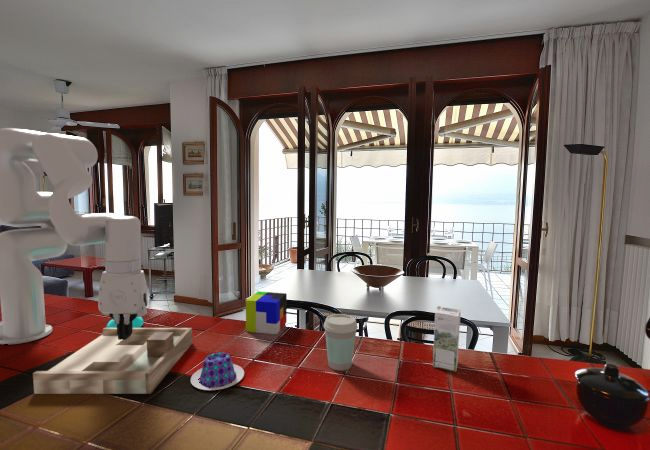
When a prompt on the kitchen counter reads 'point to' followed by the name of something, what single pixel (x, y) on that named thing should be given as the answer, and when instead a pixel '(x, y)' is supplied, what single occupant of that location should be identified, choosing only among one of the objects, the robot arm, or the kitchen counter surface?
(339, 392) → the kitchen counter surface
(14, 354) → the kitchen counter surface
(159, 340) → the walnut block
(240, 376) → the pudding
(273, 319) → the puzzle toy
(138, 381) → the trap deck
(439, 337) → the syrup box
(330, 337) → the coffee cup
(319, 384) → the kitchen counter surface
